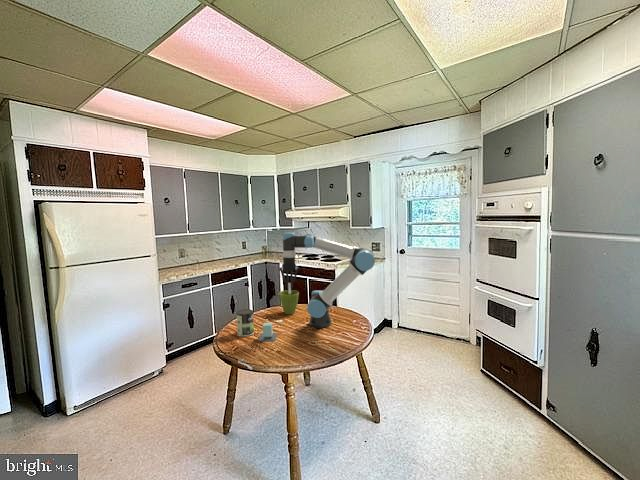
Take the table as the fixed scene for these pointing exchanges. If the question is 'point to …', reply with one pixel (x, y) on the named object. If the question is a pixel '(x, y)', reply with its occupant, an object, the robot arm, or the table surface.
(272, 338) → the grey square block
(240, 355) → the table surface
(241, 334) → the coffee can
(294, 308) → the flower pot
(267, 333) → the mint green block
